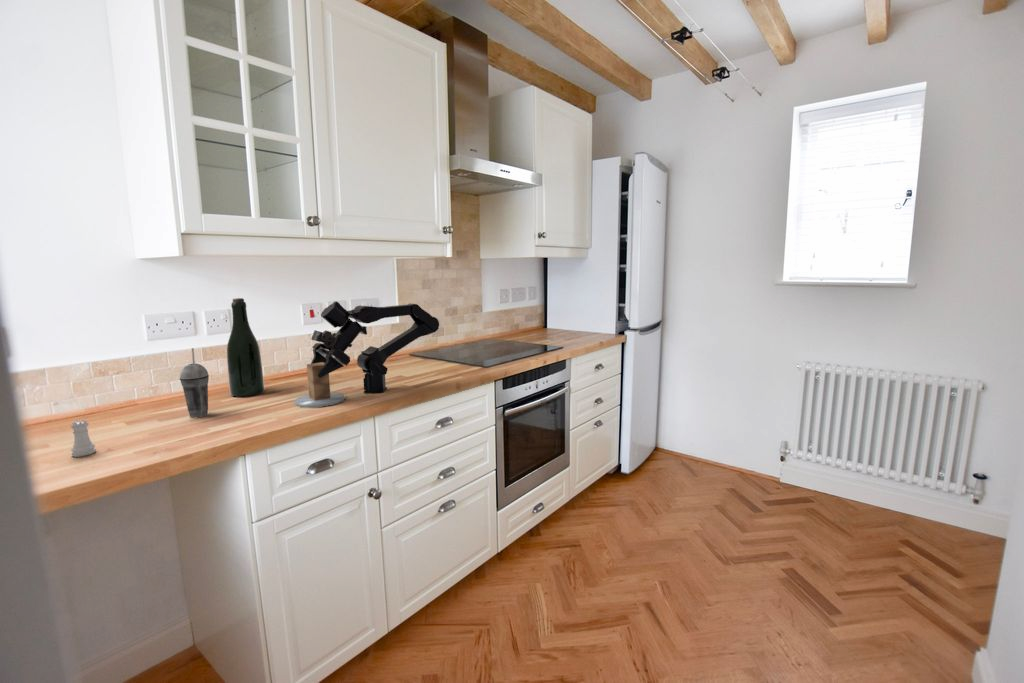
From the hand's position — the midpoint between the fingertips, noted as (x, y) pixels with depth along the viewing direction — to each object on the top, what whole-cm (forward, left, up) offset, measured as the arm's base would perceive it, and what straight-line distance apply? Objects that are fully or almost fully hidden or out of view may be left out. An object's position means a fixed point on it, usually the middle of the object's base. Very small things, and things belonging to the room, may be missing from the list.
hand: (313, 374), depth 156 cm
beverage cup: (+29, +14, -9) cm, 33 cm away
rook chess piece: (+36, +44, -9) cm, 58 cm away
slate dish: (-1, -1, -9) cm, 9 cm away
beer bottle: (+29, -11, -9) cm, 32 cm away
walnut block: (-1, -1, -8) cm, 8 cm away
